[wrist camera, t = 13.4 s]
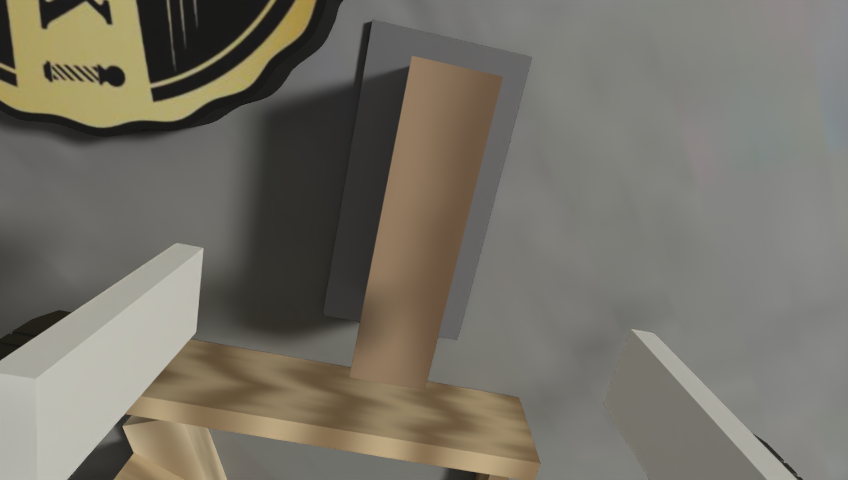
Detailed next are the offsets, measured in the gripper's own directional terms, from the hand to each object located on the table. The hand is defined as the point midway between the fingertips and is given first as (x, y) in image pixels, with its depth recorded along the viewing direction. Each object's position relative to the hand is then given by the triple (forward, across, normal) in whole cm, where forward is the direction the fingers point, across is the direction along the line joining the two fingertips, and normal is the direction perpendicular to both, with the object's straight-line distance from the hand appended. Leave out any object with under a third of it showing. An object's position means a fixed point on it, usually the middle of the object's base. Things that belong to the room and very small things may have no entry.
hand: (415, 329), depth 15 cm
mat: (+19, 0, 0) cm, 19 cm away
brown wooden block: (+19, 0, 0) cm, 19 cm away
